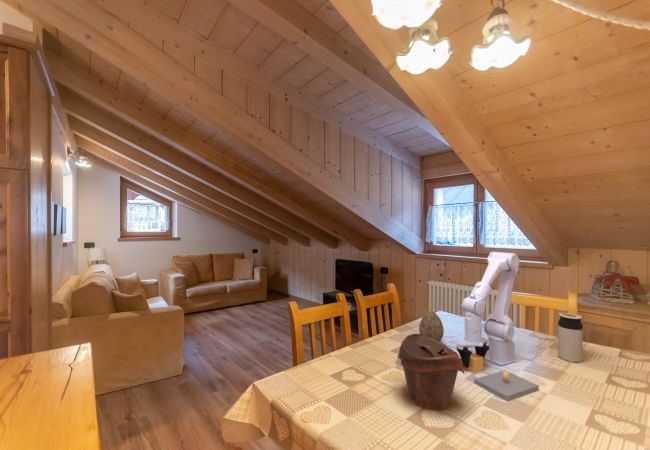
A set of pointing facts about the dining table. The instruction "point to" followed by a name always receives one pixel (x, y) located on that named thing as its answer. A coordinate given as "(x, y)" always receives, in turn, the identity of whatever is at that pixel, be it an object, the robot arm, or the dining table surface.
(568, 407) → the dining table surface
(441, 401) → the brown tapered pot
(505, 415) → the dining table surface
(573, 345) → the travel mug
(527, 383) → the plate
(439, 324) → the decorative egg
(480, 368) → the light orange cube
